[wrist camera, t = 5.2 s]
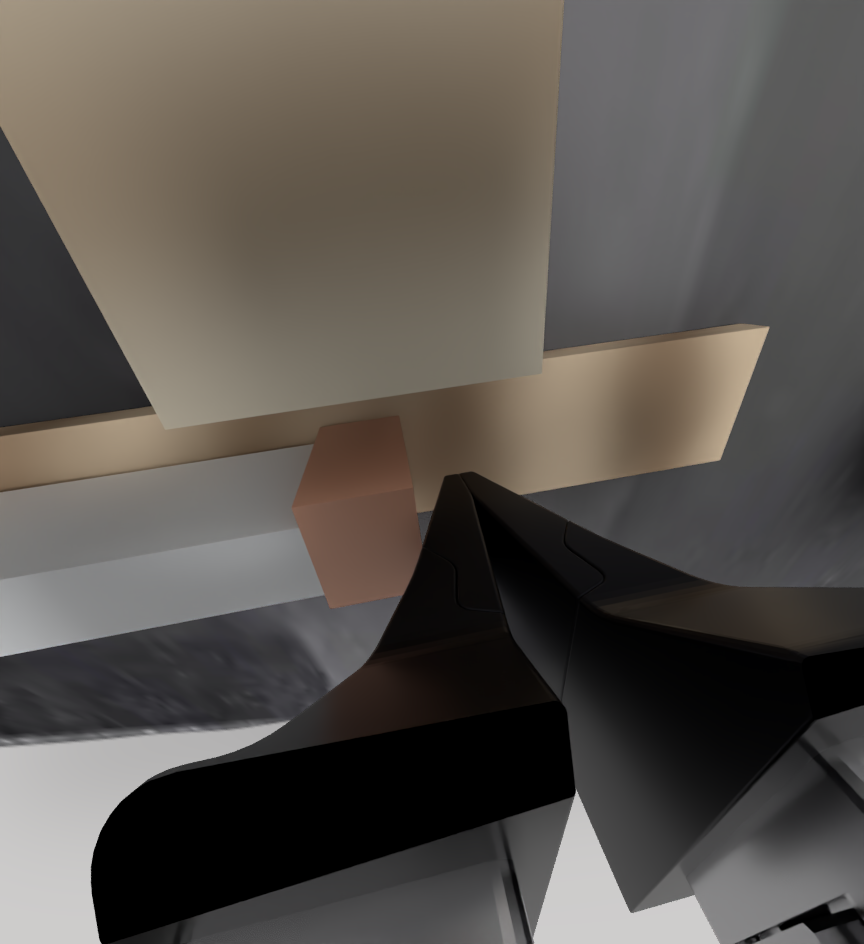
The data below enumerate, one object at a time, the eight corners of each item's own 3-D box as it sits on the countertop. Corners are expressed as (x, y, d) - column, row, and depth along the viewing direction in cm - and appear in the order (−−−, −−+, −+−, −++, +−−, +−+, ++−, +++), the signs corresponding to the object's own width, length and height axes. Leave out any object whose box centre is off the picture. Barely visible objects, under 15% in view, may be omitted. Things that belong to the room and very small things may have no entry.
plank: (741, 323, 12) (769, 326, 11) (699, 449, 15) (719, 460, 14) (-348, 476, 9) (-421, 496, 9) (-168, 598, 12) (-211, 623, 11)
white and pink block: (399, 415, 10) (412, 487, 7) (411, 495, 12) (428, 589, 8) (-45, 482, 9) (-304, 608, 6) (30, 560, 11) (-138, 699, 7)
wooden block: (461, 338, 11) (540, 391, 6) (271, 364, 10) (174, 447, 5) (444, 49, 8) (587, -402, 3) (171, 66, 7) (-310, -444, 2)
